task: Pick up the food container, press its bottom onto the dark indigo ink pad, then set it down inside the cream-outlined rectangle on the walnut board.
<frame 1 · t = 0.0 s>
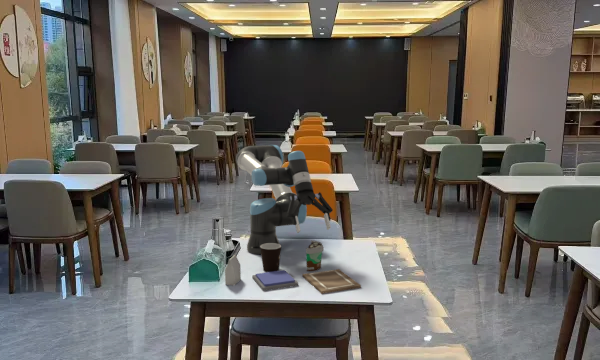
hand: (314, 230, 219), 15 cm above the table, tool tilted 35°, fingers open, 13 cm apart
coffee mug: (272, 268, 218), on the table
marked board: (330, 281, 202), on the table
ink pad: (274, 281, 203), on the table
food container: (316, 268, 218), on the table
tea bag: (233, 282, 203), on the table
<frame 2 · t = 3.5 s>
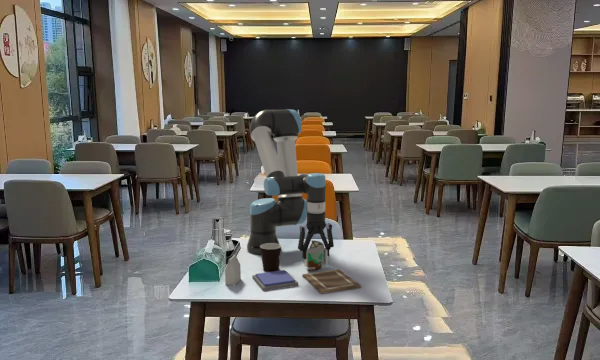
hand: (315, 265, 218), 1 cm above the table, tool pointing down, fingers closed on food container, 8 cm apart
food container: (316, 268, 218), on the table, touching gripper
everything else where it was.
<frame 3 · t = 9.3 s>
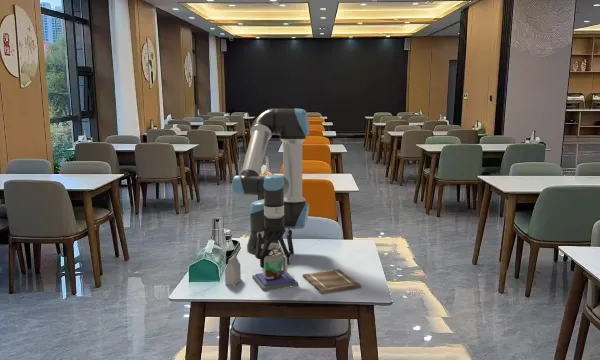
hand: (274, 273, 202), 3 cm above the table, tool pointing down, fingers closed on food container, 8 cm apart
food container: (276, 277, 202), point 2 cm above the table, touching gripper, ink pad
everything else where it was.
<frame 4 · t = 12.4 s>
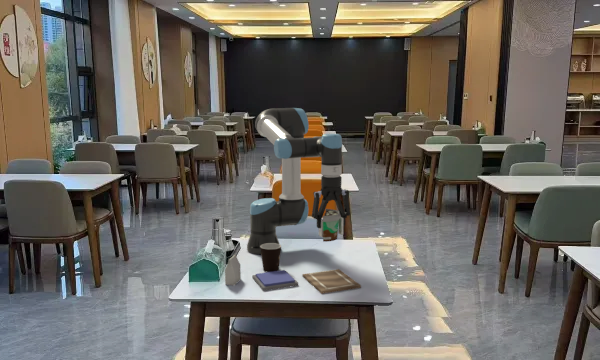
hand: (331, 235, 199), 19 cm above the table, tool pointing down, fingers closed on food container, 7 cm apart
food container: (332, 238, 199), point 17 cm above the table, touching gripper
everything else where it was.
when the fingers open (4 cm above the table, at t = 15.0 s): food container drops 1 cm, resting on marked board.
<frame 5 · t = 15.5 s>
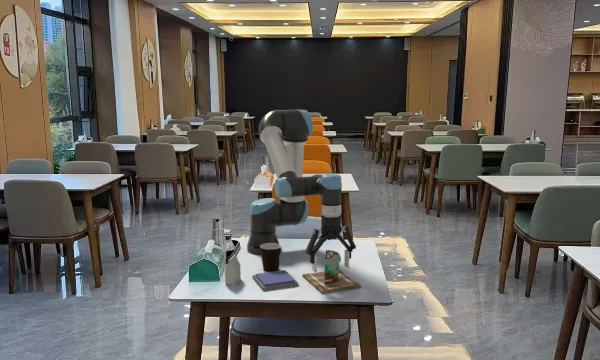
hand: (330, 269, 201), 5 cm above the table, tool pointing down, fingers open, 13 cm apart
food container: (332, 279, 202), point 1 cm above the table, touching marked board
everything else where it was.
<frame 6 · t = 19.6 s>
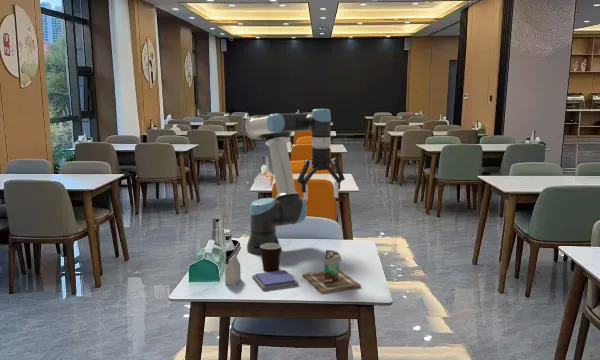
hand: (321, 198, 216), 29 cm above the table, tool pointing down, fingers open, 13 cm apart
nothing on the table moved.
at the end: food container 0.9 cm off-centre on the marked board, point 0.8 cm above the marked board's base; food container tilted 0°; the gripper is holding nothing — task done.
